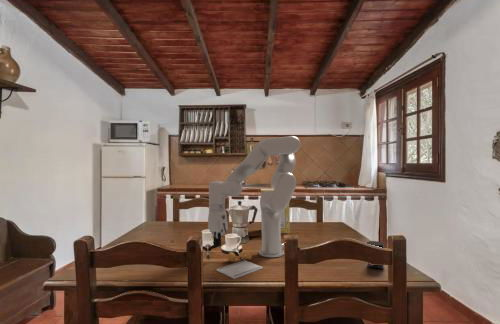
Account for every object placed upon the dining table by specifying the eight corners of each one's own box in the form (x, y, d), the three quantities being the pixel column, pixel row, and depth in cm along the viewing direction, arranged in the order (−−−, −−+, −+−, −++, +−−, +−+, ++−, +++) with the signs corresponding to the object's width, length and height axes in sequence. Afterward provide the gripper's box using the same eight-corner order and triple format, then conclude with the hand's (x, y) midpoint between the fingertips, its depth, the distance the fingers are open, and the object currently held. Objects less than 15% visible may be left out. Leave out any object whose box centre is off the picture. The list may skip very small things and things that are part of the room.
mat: (244, 261, 132) (244, 260, 132) (262, 268, 123) (262, 266, 123) (216, 270, 121) (216, 269, 121) (234, 278, 112) (234, 277, 112)
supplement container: (365, 264, 126) (364, 240, 126) (380, 264, 125) (380, 241, 125) (369, 269, 119) (369, 245, 119) (386, 270, 119) (386, 245, 119)
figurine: (224, 253, 136) (247, 246, 139) (227, 266, 135) (251, 258, 138) (227, 254, 128) (252, 246, 132) (231, 267, 127) (255, 259, 130)
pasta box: (261, 233, 183) (260, 190, 183) (261, 229, 194) (260, 188, 194) (289, 233, 182) (289, 190, 183) (288, 229, 193) (287, 188, 193)
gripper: (233, 208, 131) (233, 247, 131) (214, 205, 142) (214, 241, 142) (220, 210, 126) (220, 251, 126) (201, 206, 137) (201, 244, 137)
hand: (217, 246), depth 134 cm, fingers closed
